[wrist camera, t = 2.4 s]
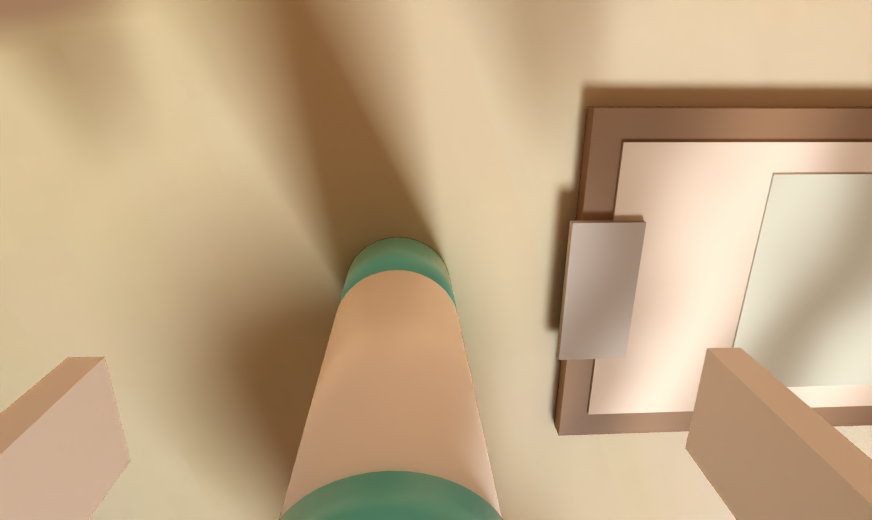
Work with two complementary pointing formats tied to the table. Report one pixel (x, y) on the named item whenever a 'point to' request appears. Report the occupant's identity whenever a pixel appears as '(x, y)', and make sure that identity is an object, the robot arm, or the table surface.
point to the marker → (394, 402)
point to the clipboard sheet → (716, 261)
